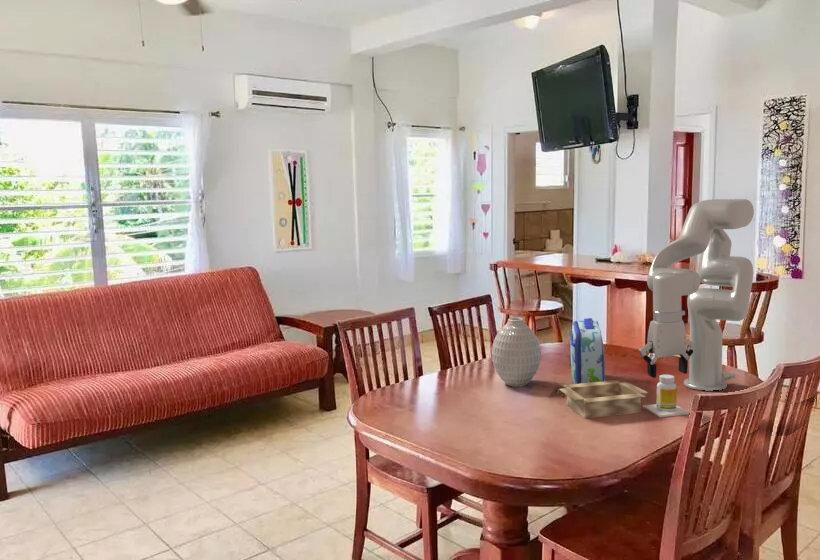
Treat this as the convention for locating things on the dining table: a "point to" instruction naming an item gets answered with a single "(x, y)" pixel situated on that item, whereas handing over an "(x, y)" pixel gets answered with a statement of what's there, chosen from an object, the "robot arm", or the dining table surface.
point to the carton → (603, 398)
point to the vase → (516, 353)
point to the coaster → (665, 413)
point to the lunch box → (586, 352)
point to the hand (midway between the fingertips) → (667, 374)
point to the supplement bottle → (666, 393)
